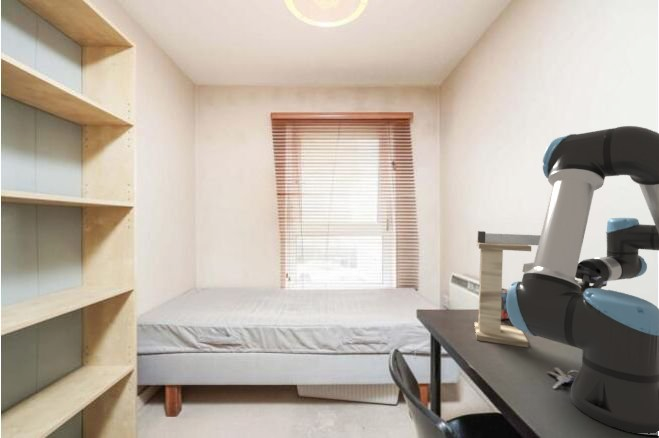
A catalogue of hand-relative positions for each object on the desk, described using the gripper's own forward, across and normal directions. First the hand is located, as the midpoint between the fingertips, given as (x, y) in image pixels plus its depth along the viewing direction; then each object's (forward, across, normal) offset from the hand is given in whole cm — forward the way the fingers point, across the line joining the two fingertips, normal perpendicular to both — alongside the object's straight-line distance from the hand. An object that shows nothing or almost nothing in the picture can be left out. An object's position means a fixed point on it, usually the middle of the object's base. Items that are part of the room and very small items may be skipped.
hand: (541, 277), depth 98 cm
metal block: (+2, +10, +8) cm, 12 cm away
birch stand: (+8, +4, -22) cm, 23 cm away
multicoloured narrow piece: (-6, +21, -28) cm, 35 cm away
